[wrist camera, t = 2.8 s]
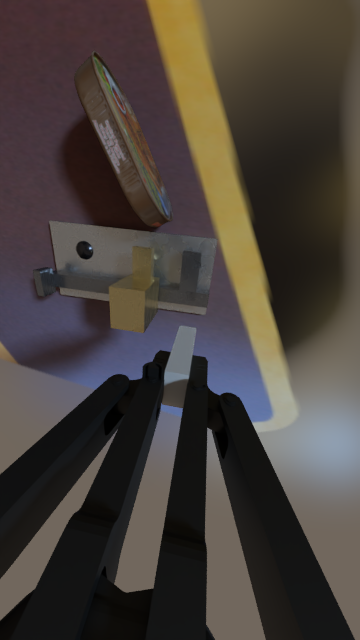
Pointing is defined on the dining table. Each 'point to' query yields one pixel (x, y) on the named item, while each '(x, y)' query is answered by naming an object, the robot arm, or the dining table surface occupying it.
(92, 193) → the dining table surface
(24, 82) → the dining table surface
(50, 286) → the grey slide rail base
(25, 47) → the dining table surface
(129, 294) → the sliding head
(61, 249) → the bolt plate
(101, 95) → the tin
